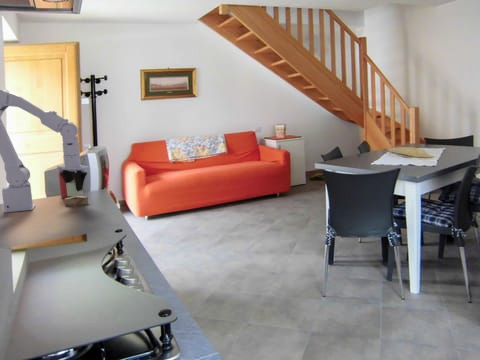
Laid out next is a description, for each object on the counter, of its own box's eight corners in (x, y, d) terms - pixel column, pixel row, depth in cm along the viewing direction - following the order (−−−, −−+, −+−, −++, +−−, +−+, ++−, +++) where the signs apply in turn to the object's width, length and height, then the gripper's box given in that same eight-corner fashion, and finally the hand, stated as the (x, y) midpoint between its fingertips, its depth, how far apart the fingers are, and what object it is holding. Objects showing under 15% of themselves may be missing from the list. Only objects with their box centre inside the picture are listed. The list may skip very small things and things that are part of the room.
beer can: (61, 196, 180) (59, 168, 178) (78, 194, 182) (75, 167, 180) (60, 199, 174) (57, 170, 172) (77, 197, 176) (74, 169, 174)
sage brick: (75, 196, 160) (73, 182, 159) (67, 196, 161) (65, 181, 160) (83, 194, 163) (81, 180, 162) (75, 193, 165) (74, 179, 164)
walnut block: (75, 207, 159) (74, 199, 159) (65, 206, 162) (64, 198, 162) (88, 204, 164) (87, 196, 164) (78, 203, 167) (77, 195, 167)
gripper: (94, 154, 160) (97, 189, 163) (65, 153, 166) (69, 187, 169) (80, 156, 154) (83, 192, 156) (51, 155, 160) (55, 190, 162)
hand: (75, 190), depth 162 cm, fingers closed on sage brick, 4 cm apart
